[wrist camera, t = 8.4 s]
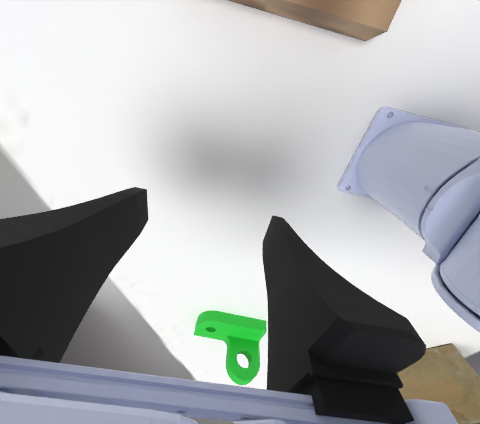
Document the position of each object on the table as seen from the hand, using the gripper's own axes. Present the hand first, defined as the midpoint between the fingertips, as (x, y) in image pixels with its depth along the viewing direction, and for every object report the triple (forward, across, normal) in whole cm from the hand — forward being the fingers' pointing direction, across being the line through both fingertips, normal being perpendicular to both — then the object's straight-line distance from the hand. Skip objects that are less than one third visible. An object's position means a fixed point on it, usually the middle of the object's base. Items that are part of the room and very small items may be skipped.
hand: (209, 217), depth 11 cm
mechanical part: (+10, -6, +30) cm, 32 cm away
